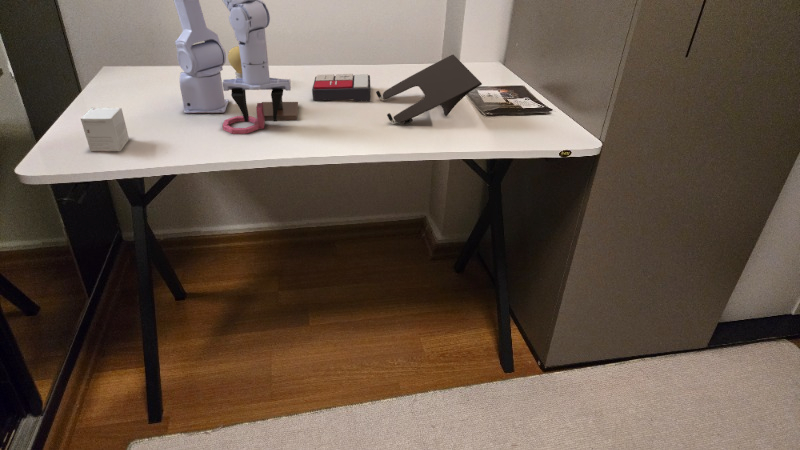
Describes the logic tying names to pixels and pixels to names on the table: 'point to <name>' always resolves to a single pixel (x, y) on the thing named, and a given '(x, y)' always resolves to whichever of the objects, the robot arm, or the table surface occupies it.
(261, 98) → the table surface
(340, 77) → the button keypad
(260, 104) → the pink octagonal frame
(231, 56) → the light bulb
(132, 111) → the table surface
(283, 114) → the stand
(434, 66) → the laptop tray
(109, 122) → the product box
